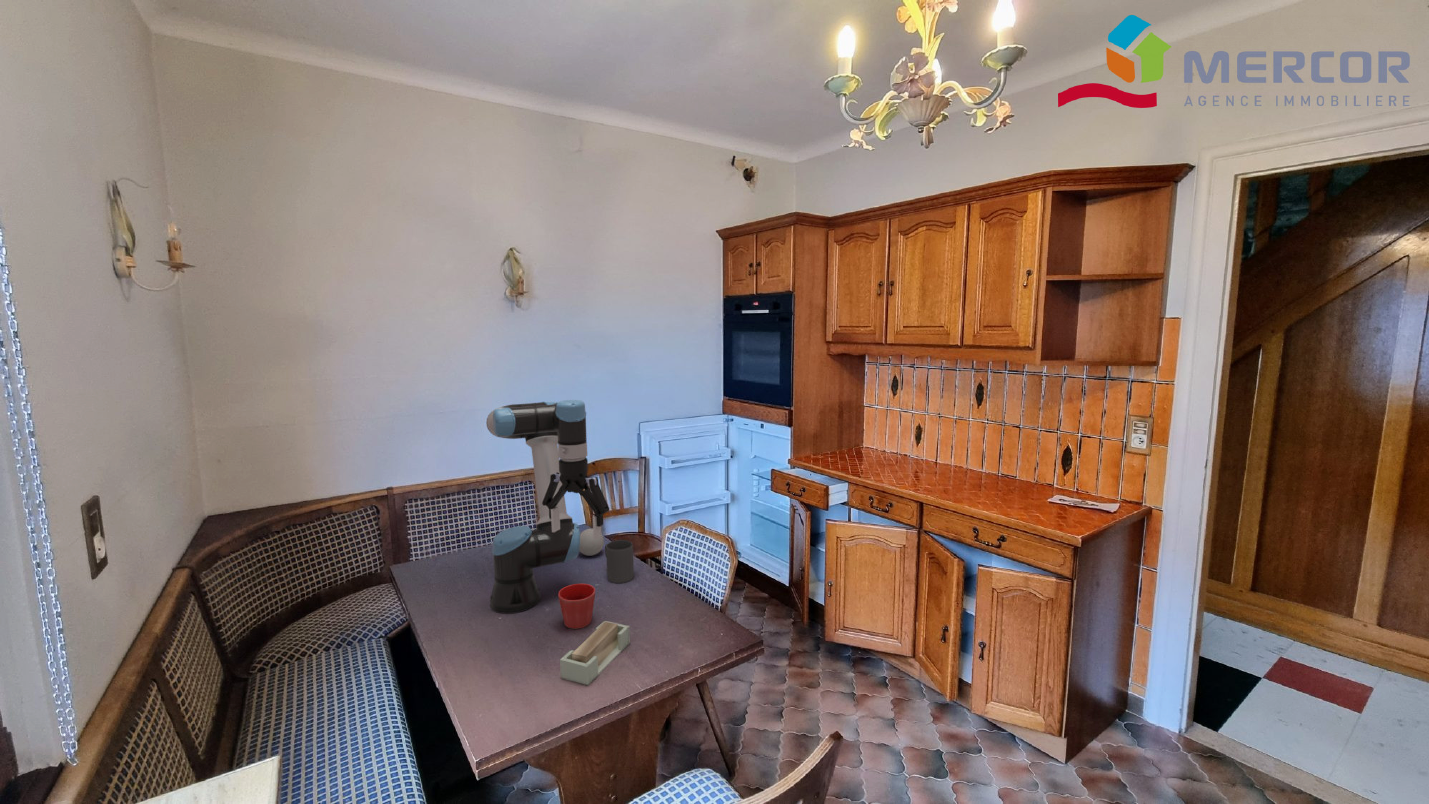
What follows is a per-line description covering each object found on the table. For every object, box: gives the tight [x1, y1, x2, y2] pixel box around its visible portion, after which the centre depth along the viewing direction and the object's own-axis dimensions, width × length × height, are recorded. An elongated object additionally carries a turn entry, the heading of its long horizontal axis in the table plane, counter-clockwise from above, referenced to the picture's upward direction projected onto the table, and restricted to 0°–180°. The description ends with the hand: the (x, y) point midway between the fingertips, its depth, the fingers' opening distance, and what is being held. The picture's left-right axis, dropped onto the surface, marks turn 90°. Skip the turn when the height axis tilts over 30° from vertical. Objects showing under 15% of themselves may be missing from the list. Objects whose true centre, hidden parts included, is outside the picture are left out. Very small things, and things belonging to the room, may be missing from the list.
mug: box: [604, 539, 635, 584], centre depth 200 cm, size 14×9×12 cm
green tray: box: [559, 620, 631, 686], centre depth 151 cm, size 8×20×5 cm, turn 158°
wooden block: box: [572, 621, 619, 666], centre depth 150 cm, size 4×16×6 cm, turn 161°
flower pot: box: [557, 583, 596, 630], centre depth 169 cm, size 11×11×10 cm
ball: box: [579, 528, 605, 557], centre depth 218 cm, size 10×10×10 cm
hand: (576, 534), depth 157 cm, fingers open, 13 cm apart
